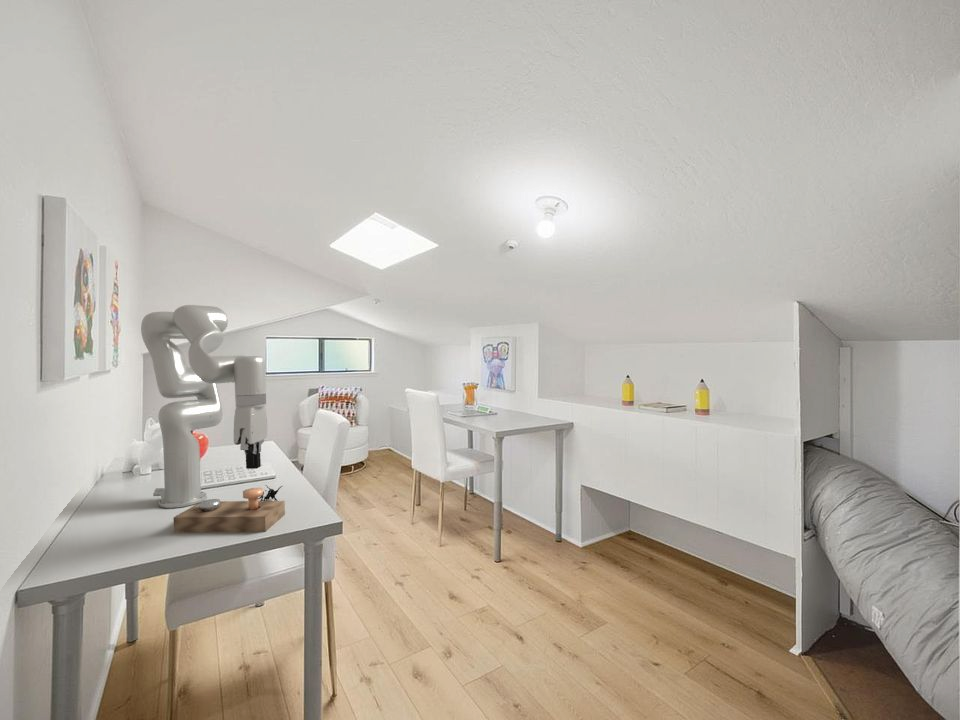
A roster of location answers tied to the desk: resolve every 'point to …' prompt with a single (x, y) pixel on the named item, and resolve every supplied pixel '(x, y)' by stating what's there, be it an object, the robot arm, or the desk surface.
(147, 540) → the desk surface
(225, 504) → the block
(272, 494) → the creature
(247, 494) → the terracotta plug
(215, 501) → the grey plug
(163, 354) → the robot arm
